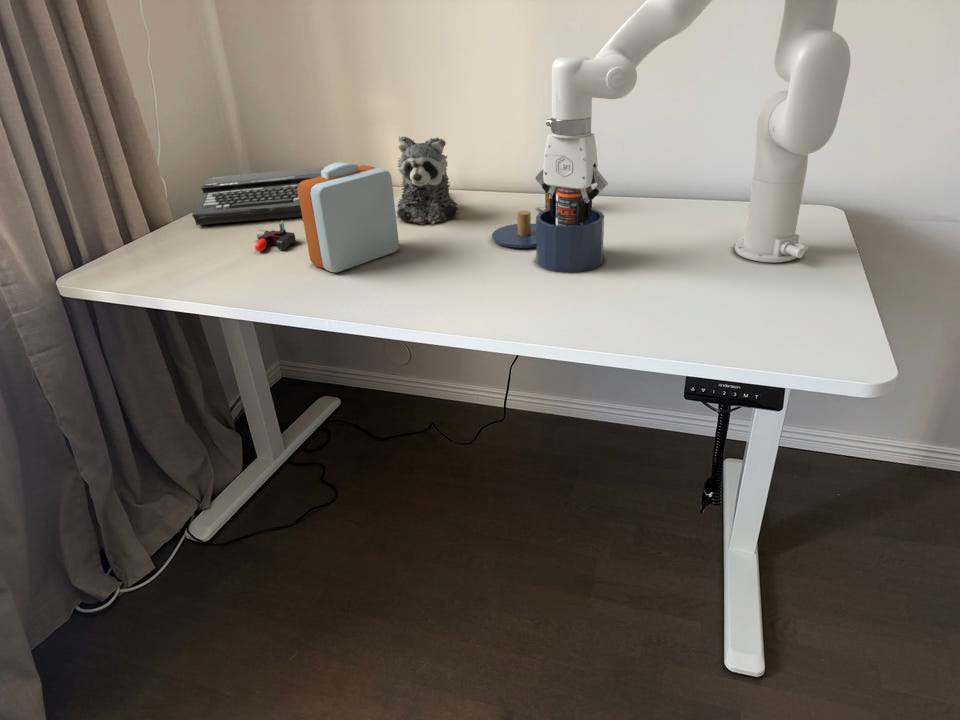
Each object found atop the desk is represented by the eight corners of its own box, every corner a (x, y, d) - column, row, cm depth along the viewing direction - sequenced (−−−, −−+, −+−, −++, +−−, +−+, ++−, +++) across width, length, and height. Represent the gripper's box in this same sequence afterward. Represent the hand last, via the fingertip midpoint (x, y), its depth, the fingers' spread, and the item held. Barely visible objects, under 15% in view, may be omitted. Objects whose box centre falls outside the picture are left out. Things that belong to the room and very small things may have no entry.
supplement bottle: (553, 233, 141) (552, 177, 136) (558, 223, 146) (558, 170, 141) (582, 234, 140) (583, 178, 134) (587, 225, 145) (588, 170, 139)
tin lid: (569, 241, 156) (569, 214, 153) (512, 254, 151) (511, 227, 148) (535, 224, 168) (535, 199, 165) (481, 236, 162) (479, 210, 159)
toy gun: (262, 237, 170) (258, 218, 168) (302, 241, 165) (298, 222, 163) (235, 250, 162) (230, 230, 160) (276, 256, 158) (271, 235, 155)
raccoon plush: (403, 233, 167) (393, 143, 156) (387, 198, 194) (378, 120, 183) (464, 225, 169) (459, 137, 159) (441, 192, 196) (434, 114, 186)
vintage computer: (194, 228, 177) (186, 197, 173) (214, 199, 202) (208, 172, 199) (362, 215, 182) (358, 184, 179) (361, 188, 208) (358, 161, 204)
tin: (615, 263, 143) (617, 218, 139) (559, 277, 138) (560, 231, 134) (578, 244, 154) (578, 202, 150) (525, 257, 149) (524, 214, 144)
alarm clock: (377, 242, 162) (366, 153, 152) (401, 250, 156) (390, 158, 146) (309, 266, 151) (292, 171, 141) (332, 275, 145) (316, 177, 135)
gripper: (522, 127, 135) (524, 217, 143) (605, 133, 126) (601, 229, 135) (541, 120, 140) (542, 207, 149) (621, 125, 131) (617, 217, 140)
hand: (570, 217), depth 142 cm, fingers closed on supplement bottle, 6 cm apart
